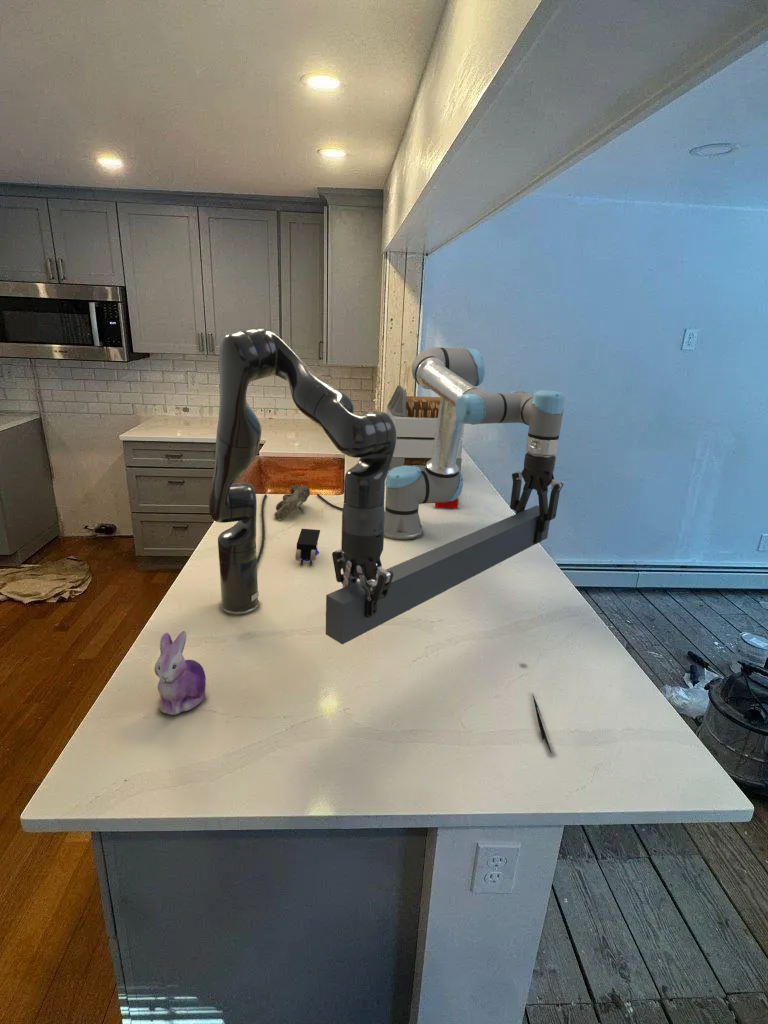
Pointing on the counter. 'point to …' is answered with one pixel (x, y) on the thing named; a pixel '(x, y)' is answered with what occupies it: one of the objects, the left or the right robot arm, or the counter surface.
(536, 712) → the feather
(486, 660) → the counter surface
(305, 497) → the fossil
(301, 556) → the figurine character
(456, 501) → the toy
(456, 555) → the beam
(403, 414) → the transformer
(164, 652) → the figurine
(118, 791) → the counter surface
